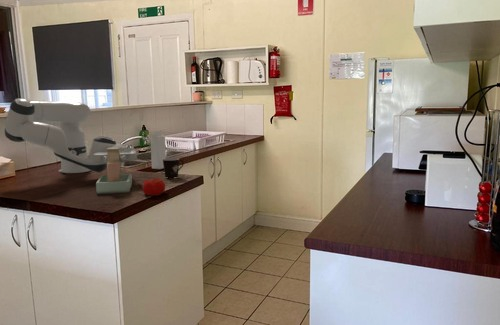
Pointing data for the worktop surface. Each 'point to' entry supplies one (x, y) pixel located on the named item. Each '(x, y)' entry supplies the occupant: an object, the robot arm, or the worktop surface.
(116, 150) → the block
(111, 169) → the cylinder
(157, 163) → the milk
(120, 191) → the tote
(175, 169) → the coffee mug
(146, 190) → the tomato
